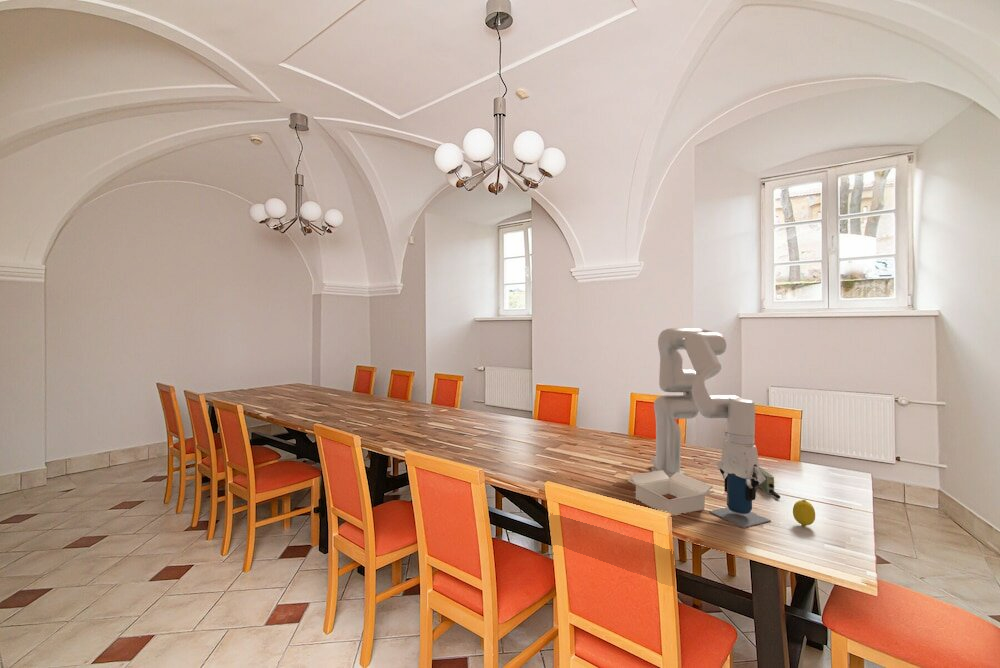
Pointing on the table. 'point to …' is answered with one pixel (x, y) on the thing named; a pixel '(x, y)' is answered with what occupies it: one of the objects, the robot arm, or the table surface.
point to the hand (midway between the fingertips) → (739, 495)
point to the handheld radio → (768, 483)
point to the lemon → (804, 513)
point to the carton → (670, 491)
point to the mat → (740, 517)
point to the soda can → (737, 495)
